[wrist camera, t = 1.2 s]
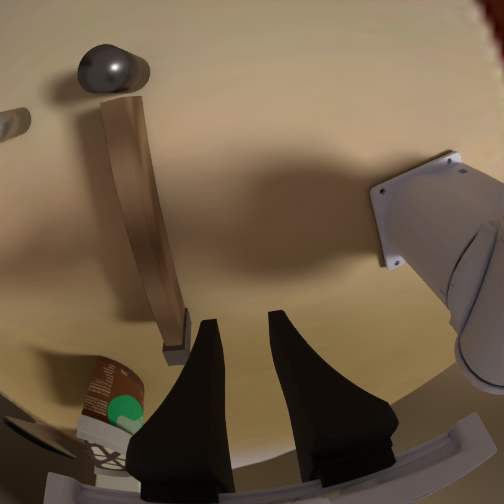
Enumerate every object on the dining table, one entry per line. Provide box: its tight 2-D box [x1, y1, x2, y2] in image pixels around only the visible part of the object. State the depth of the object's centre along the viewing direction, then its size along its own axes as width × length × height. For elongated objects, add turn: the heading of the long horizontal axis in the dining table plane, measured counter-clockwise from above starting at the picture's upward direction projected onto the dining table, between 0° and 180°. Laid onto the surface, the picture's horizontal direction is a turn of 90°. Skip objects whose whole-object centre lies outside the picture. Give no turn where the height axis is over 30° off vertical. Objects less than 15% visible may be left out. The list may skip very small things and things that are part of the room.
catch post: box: [0, 107, 31, 142], centre depth 13 cm, size 2×2×4 cm
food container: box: [76, 355, 144, 477], centre depth 24 cm, size 12×6×10 cm, turn 163°
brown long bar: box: [100, 96, 191, 366], centre depth 18 cm, size 18×2×4 cm, turn 4°
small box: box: [95, 474, 141, 492], centre depth 31 cm, size 8×6×13 cm
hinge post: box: [78, 44, 150, 94], centre depth 12 cm, size 2×2×6 cm
